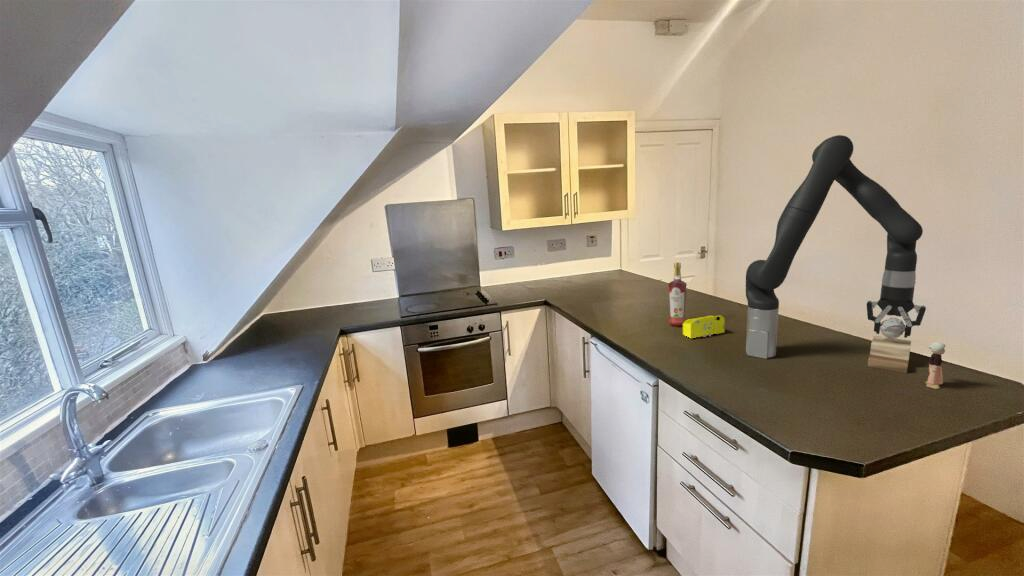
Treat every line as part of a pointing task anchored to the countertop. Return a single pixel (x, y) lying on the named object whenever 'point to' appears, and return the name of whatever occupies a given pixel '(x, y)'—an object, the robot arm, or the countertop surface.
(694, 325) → the yellow toy chassis
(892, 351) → the plinth
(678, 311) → the liquor
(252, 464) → the countertop surface
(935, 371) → the grandmother figurine
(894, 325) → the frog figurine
